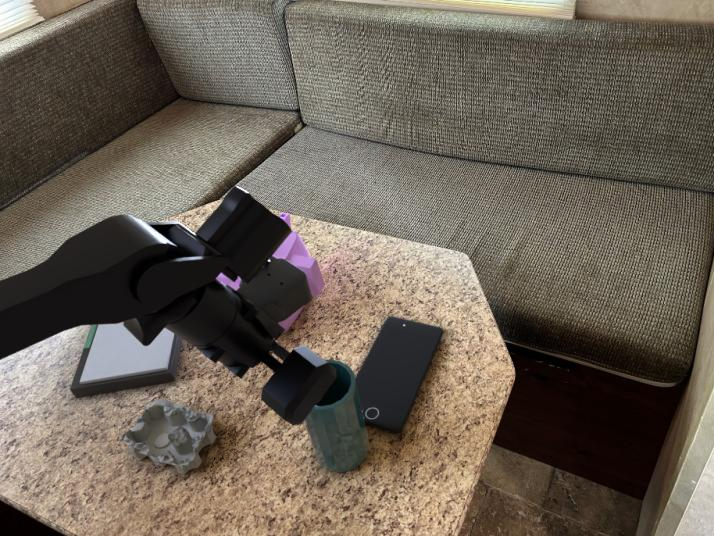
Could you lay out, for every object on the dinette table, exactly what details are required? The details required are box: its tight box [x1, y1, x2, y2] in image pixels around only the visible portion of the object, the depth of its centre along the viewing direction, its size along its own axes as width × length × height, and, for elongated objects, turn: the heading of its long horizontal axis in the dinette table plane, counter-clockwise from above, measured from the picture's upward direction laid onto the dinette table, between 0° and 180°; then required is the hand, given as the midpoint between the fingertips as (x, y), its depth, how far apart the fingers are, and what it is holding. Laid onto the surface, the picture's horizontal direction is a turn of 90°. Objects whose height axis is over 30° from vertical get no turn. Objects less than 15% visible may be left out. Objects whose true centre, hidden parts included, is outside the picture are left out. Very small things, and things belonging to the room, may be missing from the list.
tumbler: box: [303, 358, 370, 473], centre depth 72 cm, size 7×7×13 cm
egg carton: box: [116, 398, 217, 475], centre depth 77 cm, size 11×8×4 cm
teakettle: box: [216, 212, 326, 335], centre depth 94 cm, size 17×17×12 cm
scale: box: [69, 322, 183, 398], centre depth 93 cm, size 14×20×3 cm
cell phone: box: [355, 316, 444, 435], centre depth 84 cm, size 9×18×1 cm, turn 159°
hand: (292, 375), depth 66 cm, fingers open, 9 cm apart
